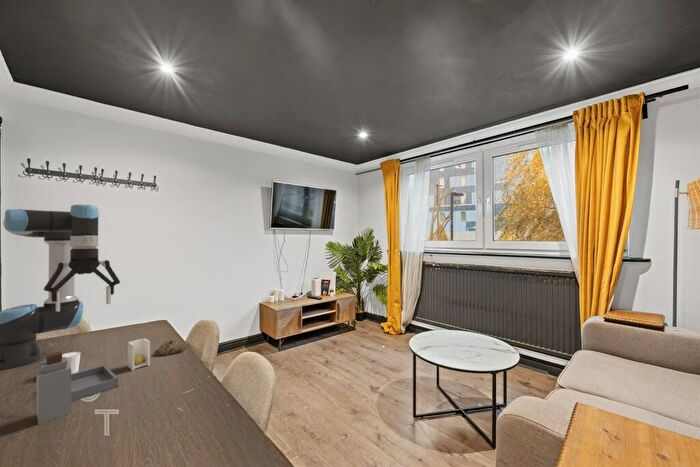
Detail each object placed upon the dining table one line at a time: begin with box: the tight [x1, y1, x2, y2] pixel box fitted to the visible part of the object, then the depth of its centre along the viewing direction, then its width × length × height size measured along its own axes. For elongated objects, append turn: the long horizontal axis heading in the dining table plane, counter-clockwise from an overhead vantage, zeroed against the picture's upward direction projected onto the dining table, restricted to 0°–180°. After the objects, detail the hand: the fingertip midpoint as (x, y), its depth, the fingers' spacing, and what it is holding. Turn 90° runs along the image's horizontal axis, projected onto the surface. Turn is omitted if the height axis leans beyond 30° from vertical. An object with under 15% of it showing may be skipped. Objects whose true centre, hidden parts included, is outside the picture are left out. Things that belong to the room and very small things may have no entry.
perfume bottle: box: [35, 350, 72, 425], centre depth 89 cm, size 7×7×18 cm
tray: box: [71, 364, 119, 403], centre depth 104 cm, size 18×16×3 cm
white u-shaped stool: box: [127, 337, 151, 372], centre depth 121 cm, size 6×6×10 cm
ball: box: [134, 355, 143, 364], centre depth 122 cm, size 3×3×3 cm
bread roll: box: [153, 339, 187, 357], centre depth 138 cm, size 13×12×5 cm
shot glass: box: [62, 351, 82, 374], centre depth 116 cm, size 7×7×7 cm
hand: (84, 307), depth 106 cm, fingers open, 13 cm apart
